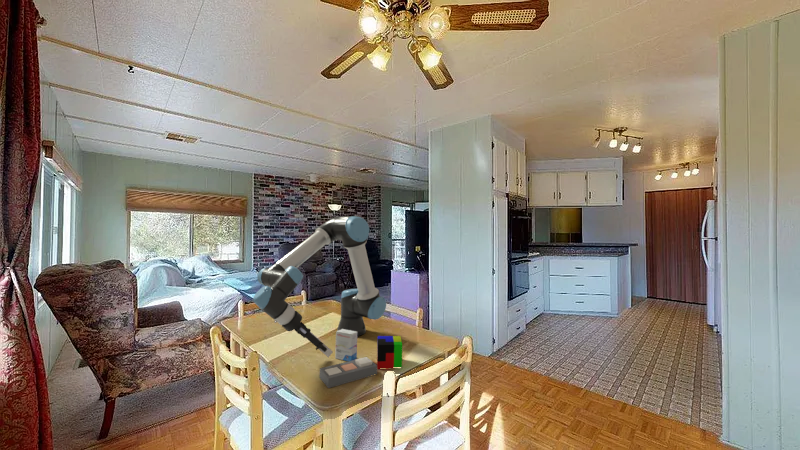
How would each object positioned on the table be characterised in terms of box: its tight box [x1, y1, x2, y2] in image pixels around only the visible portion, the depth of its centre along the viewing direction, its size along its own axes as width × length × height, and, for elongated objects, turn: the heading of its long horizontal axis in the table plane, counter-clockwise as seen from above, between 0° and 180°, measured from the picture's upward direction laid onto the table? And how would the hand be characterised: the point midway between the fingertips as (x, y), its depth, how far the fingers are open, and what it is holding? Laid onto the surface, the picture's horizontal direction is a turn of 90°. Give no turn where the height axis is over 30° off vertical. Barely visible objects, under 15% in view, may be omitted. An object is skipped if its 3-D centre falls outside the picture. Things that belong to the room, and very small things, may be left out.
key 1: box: [324, 367, 342, 376], centre depth 118 cm, size 5×5×2 cm
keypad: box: [319, 360, 378, 389], centre depth 121 cm, size 20×9×4 cm, turn 124°
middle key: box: [340, 363, 357, 371], centre depth 121 cm, size 5×5×2 cm
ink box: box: [334, 329, 358, 362], centre depth 137 cm, size 8×5×12 cm, turn 65°
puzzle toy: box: [376, 335, 403, 370], centre depth 133 cm, size 10×10×10 cm
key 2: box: [355, 356, 373, 367], centre depth 125 cm, size 5×5×2 cm
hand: (324, 348), depth 131 cm, fingers open, 13 cm apart
